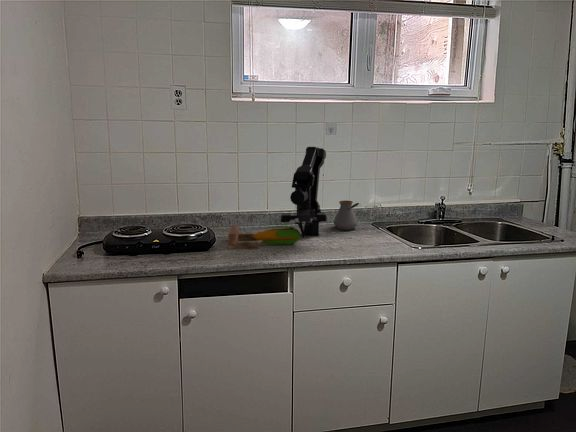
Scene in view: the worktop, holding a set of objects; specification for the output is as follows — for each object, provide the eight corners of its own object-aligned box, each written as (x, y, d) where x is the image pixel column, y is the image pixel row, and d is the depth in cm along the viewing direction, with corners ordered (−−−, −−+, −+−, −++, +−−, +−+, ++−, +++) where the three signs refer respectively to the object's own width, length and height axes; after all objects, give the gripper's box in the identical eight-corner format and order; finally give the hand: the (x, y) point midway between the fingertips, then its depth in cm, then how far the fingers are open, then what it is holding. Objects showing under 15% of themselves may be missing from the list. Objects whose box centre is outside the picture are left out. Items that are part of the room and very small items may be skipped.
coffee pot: (330, 226, 235) (330, 195, 232) (352, 224, 238) (353, 194, 235) (345, 236, 215) (346, 203, 212) (369, 235, 218) (370, 202, 214)
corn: (301, 227, 199) (252, 228, 197) (301, 245, 200) (253, 246, 198) (299, 224, 206) (252, 225, 204) (299, 242, 207) (252, 242, 205)
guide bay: (259, 239, 210) (259, 225, 209) (258, 248, 196) (258, 234, 194) (232, 239, 210) (231, 225, 209) (228, 248, 196) (228, 234, 194)
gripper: (281, 204, 191) (281, 242, 194) (328, 203, 192) (327, 242, 195) (280, 199, 202) (280, 236, 205) (325, 199, 203) (324, 235, 206)
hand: (303, 237), depth 203 cm, fingers closed
